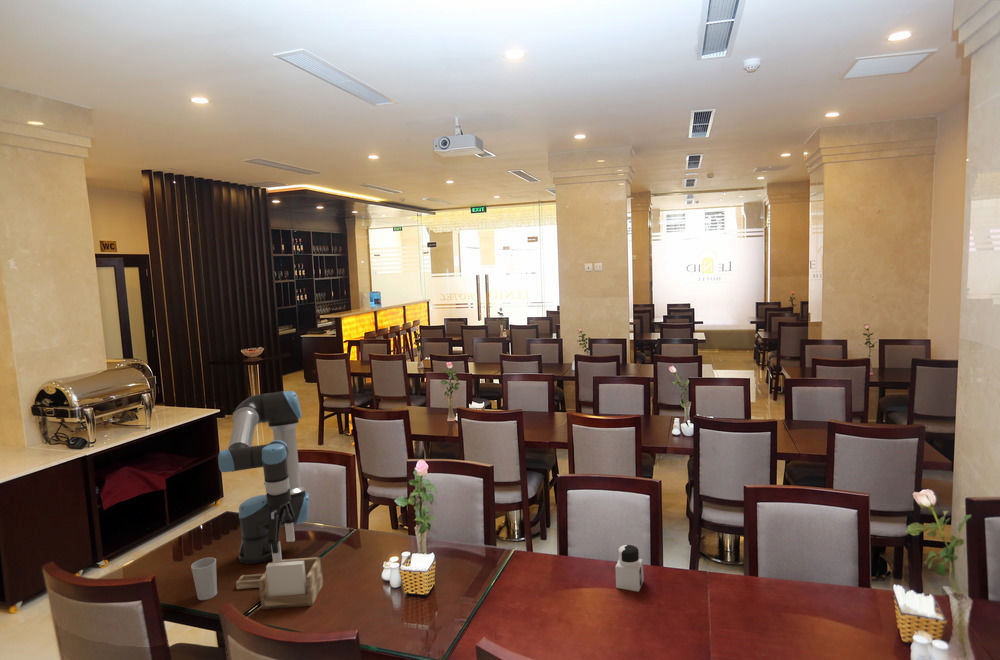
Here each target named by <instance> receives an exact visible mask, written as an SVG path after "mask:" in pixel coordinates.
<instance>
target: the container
mask: <svg viewBox="0 0 1000 660" xmlns="http://www.w3.org/2000/svg"><path fill="white" fill-rule="evenodd" d="M639 552H640V551H639V548H638V547H637V546H635V545H631V544H625V545H621V546H620V547H619V548H618V560H617V563H616V564H615V587H616V588H617V589H622V590H626V591H632V592H640V590H641V589H642V588H641V587H642V585H643V584H644V559H643V558H640V556H639V555H640V554H639Z"/></svg>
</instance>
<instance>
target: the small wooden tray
mask: <svg viewBox="0 0 1000 660" xmlns="http://www.w3.org/2000/svg"><path fill="white" fill-rule="evenodd" d="M263 574H264V573H256V574H242V575H241V576H240V577H239V578H238V579H237V581H236V582H235V586H236V588H235V589H236V590H244V589H256V588H258V589H259V580H260V578H261V577H262V576H263Z"/></svg>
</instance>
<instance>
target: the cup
mask: <svg viewBox="0 0 1000 660" xmlns="http://www.w3.org/2000/svg"><path fill="white" fill-rule="evenodd" d="M190 568H191V573H192V577H193V581H194V585H195V586H194V587H195V591H196V596H197V597H196V598H197V599H198V600H199V601H205V600H210V599H212V598H214V597H216V595H217V594H218V586H217V584H218V583H217V582H218V581H217V580H218V579H217V559H216V558H214V557H203V558H201V559H198V560H196V561H194V562H192V564H191V566H190Z"/></svg>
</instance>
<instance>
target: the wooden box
mask: <svg viewBox="0 0 1000 660" xmlns="http://www.w3.org/2000/svg"><path fill="white" fill-rule="evenodd" d="M291 561H304V565H305V575H306V584H307V594H301V595H288V596H275V597H269V589H268V580H267V570H265V571H264V572H263V573H262V574H263V576H262V577H261V578H260V580H259V588H258V590H259V597H260V598H259V599H260V607H261V610H270V609H282V608H284V609H286V608H295V607H308V606H309V607H310V606H313V605H314V604H315V601H316V599H317V597H318V596H319V593H320V591H321V589H322V588H323V585H324V575H323V567H322V566H323V565H322V557H321V556H317V557H316V556H315V557H303V558H302V557H301V558H289V559H287V558H286V559H282V561H279V562H291ZM271 563H278V562H273V560H272V562H271Z"/></svg>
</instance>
